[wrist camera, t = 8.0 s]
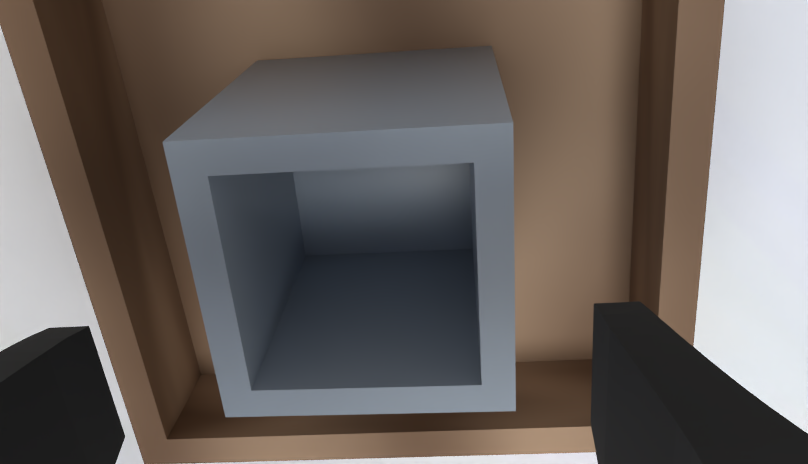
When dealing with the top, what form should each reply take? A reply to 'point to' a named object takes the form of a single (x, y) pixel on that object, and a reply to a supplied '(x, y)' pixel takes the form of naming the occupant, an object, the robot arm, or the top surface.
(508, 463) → the top surface
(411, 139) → the grey crate
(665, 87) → the walnut crate
